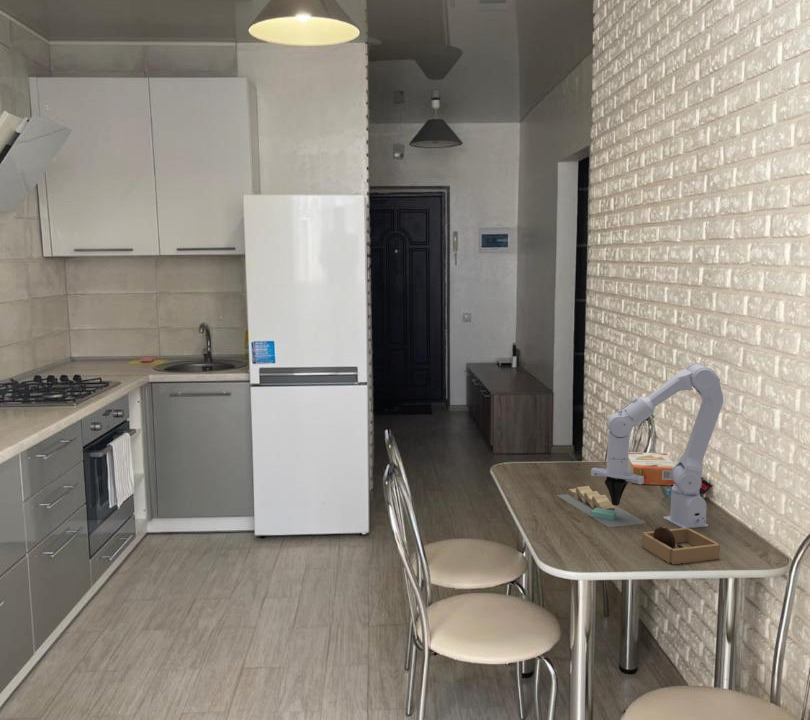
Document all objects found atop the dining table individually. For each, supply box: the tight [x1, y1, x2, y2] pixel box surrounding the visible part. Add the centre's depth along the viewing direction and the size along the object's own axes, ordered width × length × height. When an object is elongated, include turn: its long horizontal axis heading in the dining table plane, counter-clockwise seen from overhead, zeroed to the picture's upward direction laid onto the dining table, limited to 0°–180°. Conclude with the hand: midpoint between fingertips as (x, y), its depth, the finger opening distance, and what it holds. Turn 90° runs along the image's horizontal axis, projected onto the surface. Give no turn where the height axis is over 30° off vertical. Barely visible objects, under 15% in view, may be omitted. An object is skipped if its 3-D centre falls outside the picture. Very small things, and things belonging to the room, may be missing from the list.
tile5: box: [567, 487, 582, 500], centre depth 240 cm, size 2×4×6 cm
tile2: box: [592, 494, 615, 511], centre depth 227 cm, size 2×4×6 cm
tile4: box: [576, 485, 593, 504], centre depth 236 cm, size 2×4×6 cm
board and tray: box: [556, 493, 721, 565], centre depth 217 cm, size 56×15×4 cm, turn 17°
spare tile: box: [591, 508, 617, 521], centre depth 222 cm, size 2×4×6 cm
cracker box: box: [628, 451, 676, 486], centre depth 264 cm, size 14×6×21 cm
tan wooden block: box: [584, 490, 601, 509], centre depth 231 cm, size 2×4×6 cm
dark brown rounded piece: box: [653, 526, 686, 549], centre depth 197 cm, size 8×8×7 cm
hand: (615, 504), depth 220 cm, fingers closed
